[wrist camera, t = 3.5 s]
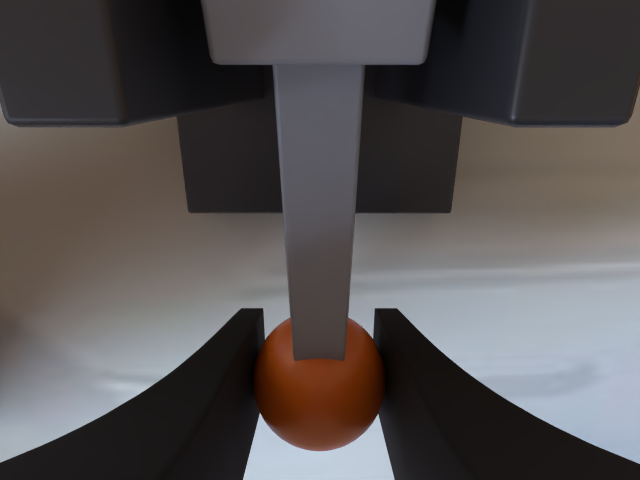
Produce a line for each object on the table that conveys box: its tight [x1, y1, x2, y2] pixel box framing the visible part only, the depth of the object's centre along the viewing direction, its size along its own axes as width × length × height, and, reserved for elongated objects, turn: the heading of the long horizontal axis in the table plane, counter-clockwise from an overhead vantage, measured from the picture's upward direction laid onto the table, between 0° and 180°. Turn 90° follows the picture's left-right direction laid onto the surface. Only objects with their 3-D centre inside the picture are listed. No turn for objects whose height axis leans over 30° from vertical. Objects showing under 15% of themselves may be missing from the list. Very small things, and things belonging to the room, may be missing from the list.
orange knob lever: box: [201, 0, 437, 451], centre depth 7 cm, size 12×3×3 cm, turn 179°
